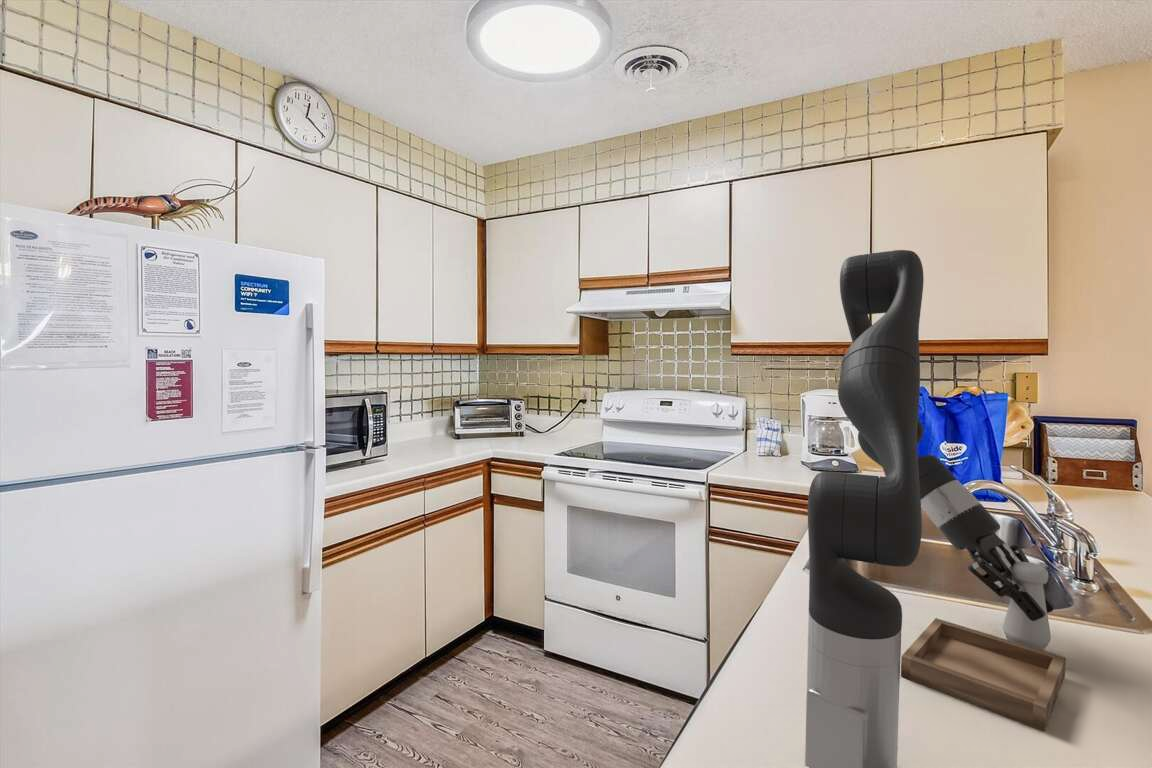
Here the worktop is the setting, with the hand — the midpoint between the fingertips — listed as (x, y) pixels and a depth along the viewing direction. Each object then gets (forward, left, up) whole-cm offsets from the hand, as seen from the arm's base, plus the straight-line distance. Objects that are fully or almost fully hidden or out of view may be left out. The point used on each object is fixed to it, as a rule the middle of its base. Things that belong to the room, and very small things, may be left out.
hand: (1043, 614), depth 86 cm
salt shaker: (0, +2, -6) cm, 6 cm away
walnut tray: (-13, +5, -7) cm, 15 cm away
